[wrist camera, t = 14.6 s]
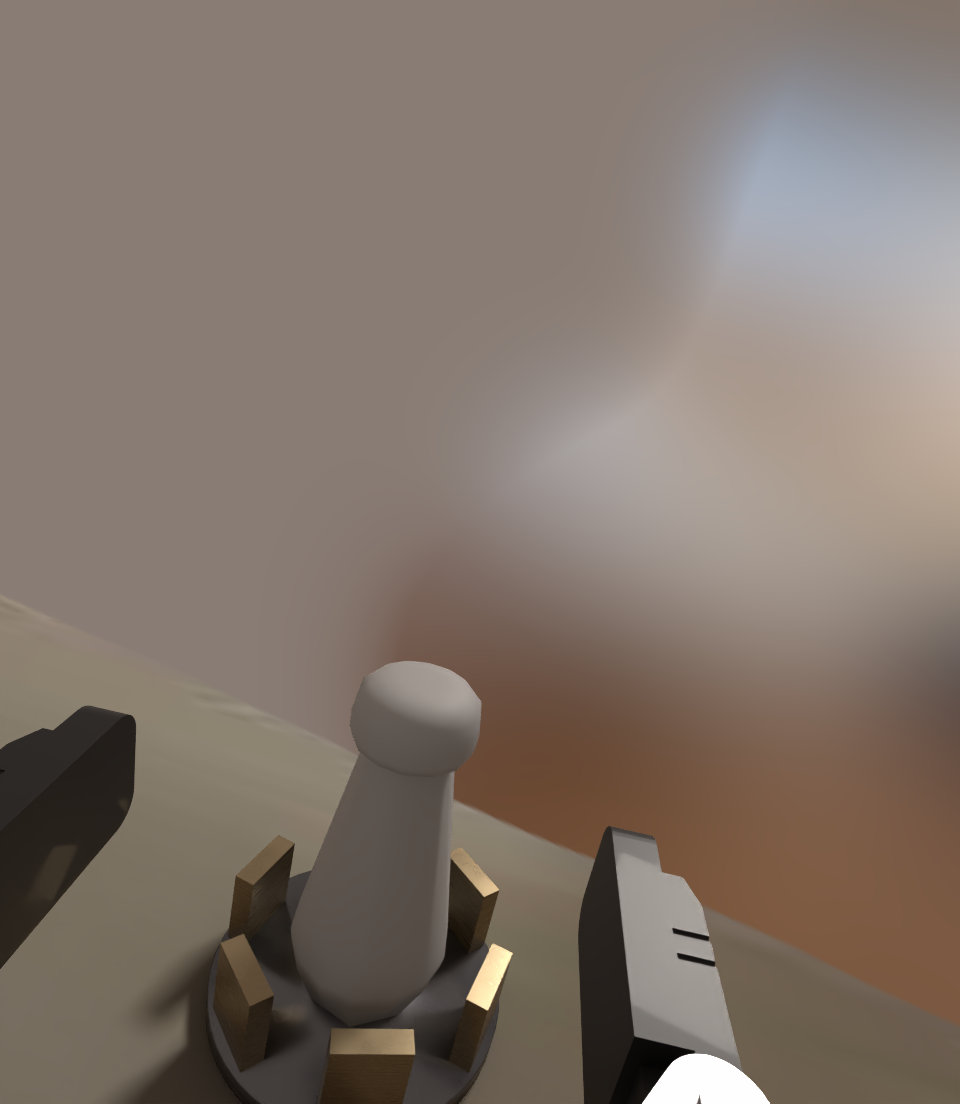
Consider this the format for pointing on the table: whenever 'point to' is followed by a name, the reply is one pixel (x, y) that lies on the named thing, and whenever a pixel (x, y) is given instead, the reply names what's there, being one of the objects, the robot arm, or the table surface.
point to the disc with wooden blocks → (324, 1040)
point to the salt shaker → (388, 847)
